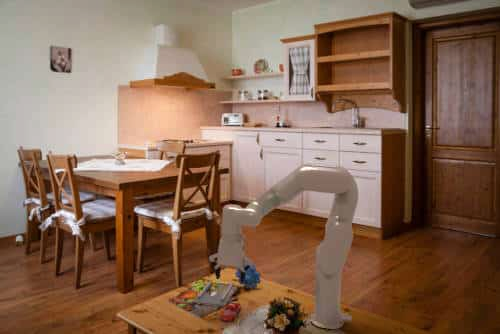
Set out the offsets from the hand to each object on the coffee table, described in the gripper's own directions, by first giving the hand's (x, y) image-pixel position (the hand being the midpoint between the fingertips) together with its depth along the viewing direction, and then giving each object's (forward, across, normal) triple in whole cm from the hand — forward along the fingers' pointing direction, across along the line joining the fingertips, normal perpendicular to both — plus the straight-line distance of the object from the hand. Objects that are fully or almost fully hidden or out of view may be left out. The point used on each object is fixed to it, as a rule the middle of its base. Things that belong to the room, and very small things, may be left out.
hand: (230, 279), depth 170 cm
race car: (+15, -1, 0) cm, 15 cm away
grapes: (+14, -2, -26) cm, 30 cm away
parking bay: (+15, +10, -16) cm, 24 cm away
